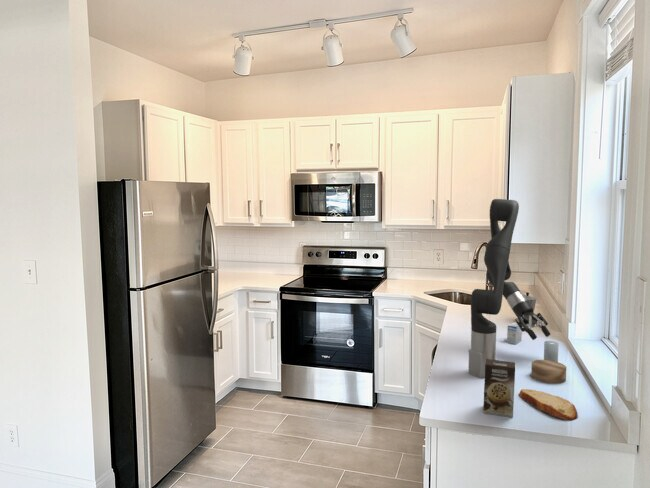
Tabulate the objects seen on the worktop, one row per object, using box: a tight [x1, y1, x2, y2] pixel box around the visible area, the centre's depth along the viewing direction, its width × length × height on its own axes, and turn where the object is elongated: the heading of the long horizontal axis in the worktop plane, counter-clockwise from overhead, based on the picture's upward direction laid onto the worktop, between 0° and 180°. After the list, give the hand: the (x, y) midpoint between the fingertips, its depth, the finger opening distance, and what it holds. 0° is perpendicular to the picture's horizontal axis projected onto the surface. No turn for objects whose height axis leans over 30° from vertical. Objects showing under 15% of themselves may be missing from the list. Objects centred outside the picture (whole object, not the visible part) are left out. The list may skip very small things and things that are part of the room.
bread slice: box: [518, 388, 578, 422], centre depth 156 cm, size 18×18×4 cm
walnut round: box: [530, 359, 567, 384], centre depth 181 cm, size 12×12×5 cm
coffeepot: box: [522, 292, 537, 328], centre depth 256 cm, size 15×9×18 cm, turn 176°
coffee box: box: [482, 359, 516, 418], centre depth 152 cm, size 9×6×16 cm
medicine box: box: [506, 321, 523, 345], centre depth 226 cm, size 8×4×9 cm, turn 141°
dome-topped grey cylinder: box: [543, 340, 560, 362], centre depth 192 cm, size 5×5×10 cm
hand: (542, 337), depth 196 cm, fingers open, 8 cm apart
